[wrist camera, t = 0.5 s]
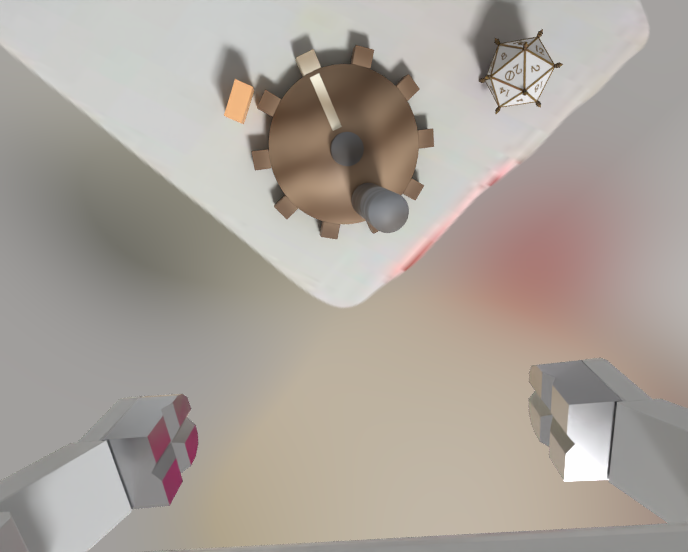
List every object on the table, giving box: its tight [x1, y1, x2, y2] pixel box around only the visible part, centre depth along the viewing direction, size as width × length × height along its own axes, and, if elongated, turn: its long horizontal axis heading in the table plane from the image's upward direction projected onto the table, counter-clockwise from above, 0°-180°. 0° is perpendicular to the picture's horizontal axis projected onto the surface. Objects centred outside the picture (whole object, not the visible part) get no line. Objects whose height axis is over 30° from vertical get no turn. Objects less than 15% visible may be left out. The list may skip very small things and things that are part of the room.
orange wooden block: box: [224, 79, 254, 124], centre depth 46 cm, size 4×2×4 cm, turn 158°
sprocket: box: [252, 45, 434, 239], centre depth 46 cm, size 23×23×12 cm
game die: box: [479, 29, 563, 114], centre depth 48 cm, size 9×8×10 cm
